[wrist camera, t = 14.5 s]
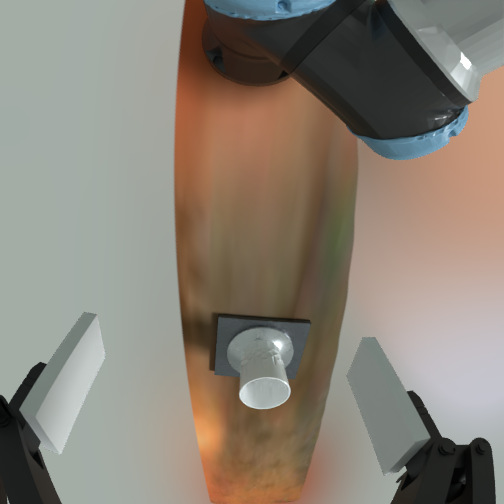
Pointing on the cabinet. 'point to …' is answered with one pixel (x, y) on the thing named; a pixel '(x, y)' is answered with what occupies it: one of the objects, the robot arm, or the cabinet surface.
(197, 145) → the cabinet surface
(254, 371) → the white cup
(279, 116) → the cabinet surface
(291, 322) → the duct collar
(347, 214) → the cabinet surface
